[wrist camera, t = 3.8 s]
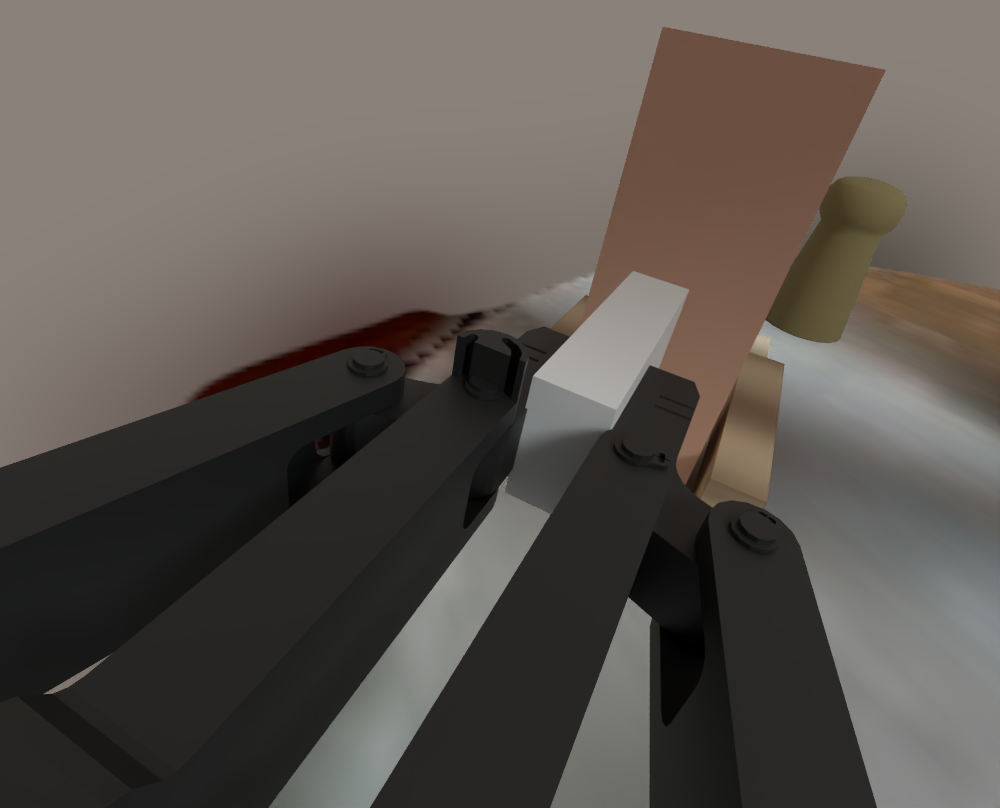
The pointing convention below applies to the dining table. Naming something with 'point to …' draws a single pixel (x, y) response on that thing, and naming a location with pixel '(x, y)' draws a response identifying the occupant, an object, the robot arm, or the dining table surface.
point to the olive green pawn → (836, 258)
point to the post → (726, 194)
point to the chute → (731, 428)
